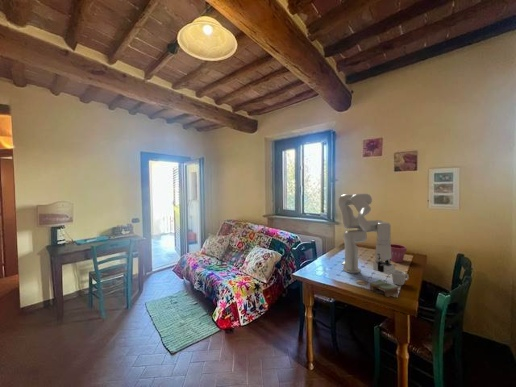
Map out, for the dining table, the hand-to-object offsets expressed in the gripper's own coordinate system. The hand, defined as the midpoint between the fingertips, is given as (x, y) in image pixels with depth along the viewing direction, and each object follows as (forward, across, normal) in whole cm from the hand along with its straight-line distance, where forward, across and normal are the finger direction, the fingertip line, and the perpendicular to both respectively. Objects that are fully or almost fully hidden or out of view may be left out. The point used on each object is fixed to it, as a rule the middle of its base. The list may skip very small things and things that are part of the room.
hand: (383, 270), depth 141 cm
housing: (+1, 0, 0) cm, 1 cm away
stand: (+13, 0, 0) cm, 13 cm away
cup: (+14, -20, -1) cm, 24 cm away
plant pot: (+13, -64, -29) cm, 72 cm away
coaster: (+13, +1, -15) cm, 20 cm away
